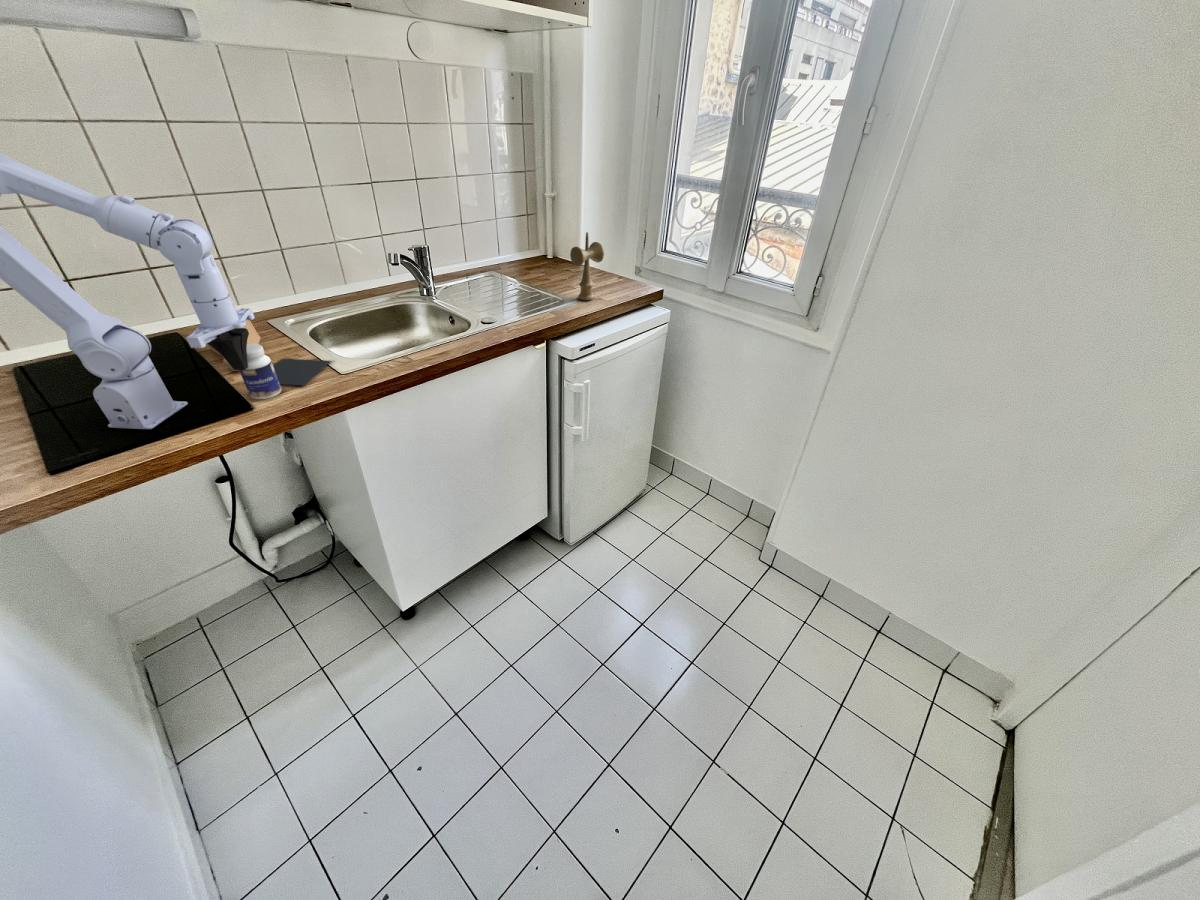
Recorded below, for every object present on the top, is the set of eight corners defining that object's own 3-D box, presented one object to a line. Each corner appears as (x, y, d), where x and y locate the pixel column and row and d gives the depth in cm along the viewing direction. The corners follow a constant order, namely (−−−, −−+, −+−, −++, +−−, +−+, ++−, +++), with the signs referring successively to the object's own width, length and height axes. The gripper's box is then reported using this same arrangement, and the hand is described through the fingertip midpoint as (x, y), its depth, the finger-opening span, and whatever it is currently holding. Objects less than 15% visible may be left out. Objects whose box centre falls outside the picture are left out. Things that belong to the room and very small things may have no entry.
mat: (302, 386, 102) (301, 385, 102) (250, 384, 103) (250, 382, 102) (330, 362, 112) (329, 360, 112) (283, 360, 112) (282, 358, 112)
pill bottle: (252, 403, 96) (231, 356, 91) (248, 391, 100) (229, 346, 94) (284, 395, 99) (267, 350, 94) (280, 384, 103) (263, 340, 97)
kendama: (603, 298, 156) (605, 231, 145) (581, 304, 150) (582, 235, 139) (590, 293, 159) (591, 228, 148) (568, 299, 154) (568, 232, 142)
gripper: (203, 312, 79) (237, 387, 86) (258, 286, 90) (283, 353, 98) (160, 311, 79) (198, 385, 87) (220, 284, 91) (249, 352, 98)
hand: (241, 368), depth 92 cm, fingers closed
